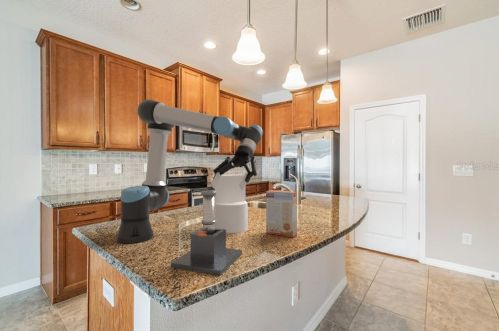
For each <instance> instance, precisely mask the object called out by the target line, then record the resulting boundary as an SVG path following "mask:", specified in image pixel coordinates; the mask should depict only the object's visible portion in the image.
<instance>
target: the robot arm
mask: <svg viewBox="0 0 499 331" xmlns="http://www.w3.org/2000/svg"><path fill="white" fill-rule="evenodd" d="M136 111H137V115H138V117H139V119H140V120H141V121H142V122H143V123H145V124H147V128H146V129H147V130H148V132H149V144H148V151H147V152H148V153H147V164H146V175H145V179H144V181H142V183H141V185H135V186H129V187H126V188H124V189H122V190H121V193H120V225H119V228H118V232H117V234H116V242H117V243H120V244H135V243H141V242H145V241H149V240H151V239H152V238H153V237H154V230H153V228H152V224H151V222H150V211H156V210H159V209H162V208H163V207H164V206H166V204H167V203H168V202H169V199H170V193H169V191H168V189H167V183H166V182H165V181H164V180H165V172H166V171H165V170H166V161H167V160H166V159H167V151H168V140H169V135H170V134H172V131H173V130H172V129H173V128H174V127H175V126H178V127H184V128H187V129H190V130H191V129H192V130H197V131H201V132H206V133H210V134H215V135H219V136H222V138H223V137H224V138H226V139H230V140H234V141H237V142H240V143H239V145H238V147H237V148H236V150H235V152H234V156H233V157H230V156H227V157H226V158H225V159H224V161H222V162H221V163H220V164H219V165H217V166H216V167H215V168H214V169H213V170H212V172H213V173H214V176H213V177H212V180H211V182H210V186H211V187H212V189H214V190H215V187H216V186H217V184H218V182H219V180H220V179H221V175H225V174H226V173H227V172H228V171H230V170H231V169H235V168H238V167H239V168H243V167H244V169H245V171H246V172H245V173H244V174H243V175H244V177H243V179H242V181H241V183H240V185H239V186H240V188H241V190H244V188H245V186H247V183H249V182H250V181H251V178H252V177H253V176H254V177H257V175H258V173H257V167H256V163H257V159H256V158H255V156H254V153H255V152H256V149H257V146H258V145H259V143H260V142H261V140H262V136H263V134H264V130H263V129H262V127H261V126H260V125H257V124H251V125H249V126H248V127H247V126H244V125H240V124H237V123H236V122H234V121H233V120H232V119H231V118H229V117H227V116H224V115H222V116H217V115H213V114H208V113H204V112H203V113H202V112H198V111H193V110H189V109H188V110H187V109H184V108H178V107H174V106H170V105H169V106H168V105H166V104H165V103H164V102H162V101H157V100H154V99H144V100H143V101H141V102H140V103H139V104H138V106H137V110H136ZM249 163H250V166H251V170H250V169H249V166H248V165H247V164H249Z"/></svg>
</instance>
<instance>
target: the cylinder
mask: <svg viewBox="0 0 499 331" xmlns="http://www.w3.org/2000/svg"><path fill="white" fill-rule="evenodd" d="M243 177H244V174H222V175H221V179H220V180H219V182H218V184H217V186H216V187H215V189H214V191H216V195H214V219H215V220H216V223H215V229H225V230H226V234H229V235H230V234H239V233H244V232H246V231H247V230H248V226H249V225H248V221H249V220H248V212H249V211H248V209H249V208H248V207H249V206H248V201H246V200H247V199H246V198H247V197H246V194H247V193H246V189H247V188H246V186H247V185H246V186H245V188H244V190H241V188H240V186H239V185H240V183H241V181H242V179H243Z"/></svg>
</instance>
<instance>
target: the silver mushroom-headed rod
mask: <svg viewBox="0 0 499 331" xmlns="http://www.w3.org/2000/svg"><path fill="white" fill-rule="evenodd" d="M200 195H201V196H202V220H201V225H202V228H203V231H207V234H208V235H213V234H215V223H216V220H215V195H216V191H215V190H200Z"/></svg>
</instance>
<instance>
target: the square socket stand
mask: <svg viewBox="0 0 499 331" xmlns="http://www.w3.org/2000/svg"><path fill="white" fill-rule="evenodd" d="M189 235H190V241H189V242H190V245H189V246H190V250H189V251H187V252H186V253H184V254H183V255H181V256H180V257H178V258H176V259H175V260H173V261H171V262H170V268H174V269H179V270H186V271H192V272H196V273H197V272H198V273H203V274H209V275H213V276H222V275H223V274H224V273H225V272H227V271H226V270H228V269H229V268H230V266H232V265H233V264H234V263H235V262H236V261H237V260H238V259H239V258H240V257H241V256H242V255H243V249H235V248H228V247H227V245H226V244H227V233H226V230H225V229H215V234H213V235H208V234H207V231H203V227H202V228H200V229H198V230H196V231H194V232H192V233H190V234H189Z"/></svg>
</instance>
